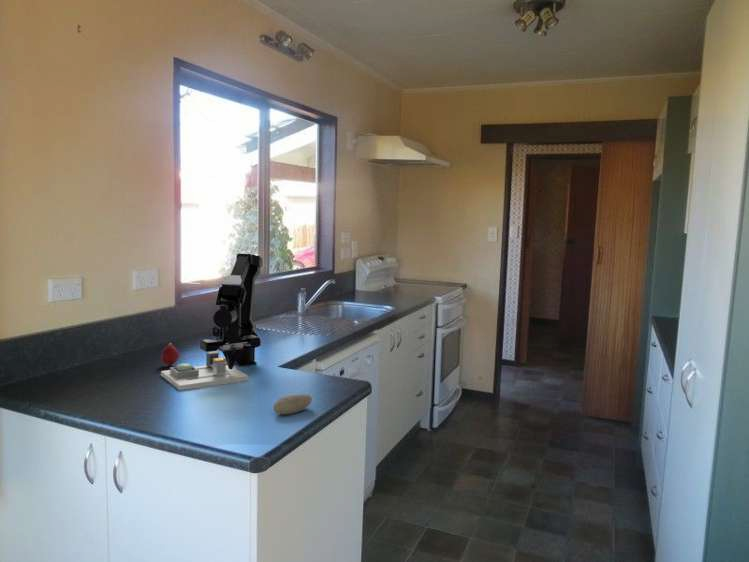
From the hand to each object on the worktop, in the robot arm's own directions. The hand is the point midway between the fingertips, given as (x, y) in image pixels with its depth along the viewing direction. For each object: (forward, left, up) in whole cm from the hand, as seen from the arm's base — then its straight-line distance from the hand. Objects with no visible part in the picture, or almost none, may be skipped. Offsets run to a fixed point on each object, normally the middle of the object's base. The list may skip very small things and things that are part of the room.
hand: (230, 369), depth 185 cm
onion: (+12, -23, -3) cm, 26 cm away
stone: (-2, +38, -3) cm, 38 cm away
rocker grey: (+1, -6, 0) cm, 6 cm away
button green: (+13, -5, 0) cm, 14 cm away
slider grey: (+2, -10, -1) cm, 10 cm away
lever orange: (+4, 0, -1) cm, 4 cm away
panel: (+7, -4, -3) cm, 9 cm away
